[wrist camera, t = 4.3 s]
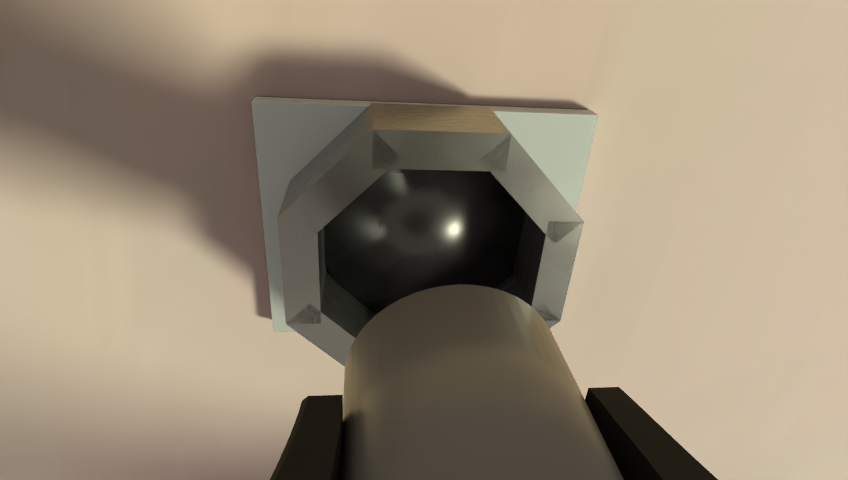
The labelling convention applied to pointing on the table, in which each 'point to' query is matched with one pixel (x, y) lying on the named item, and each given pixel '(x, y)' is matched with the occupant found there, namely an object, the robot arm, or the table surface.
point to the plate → (324, 119)
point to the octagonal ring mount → (419, 220)
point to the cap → (465, 395)
